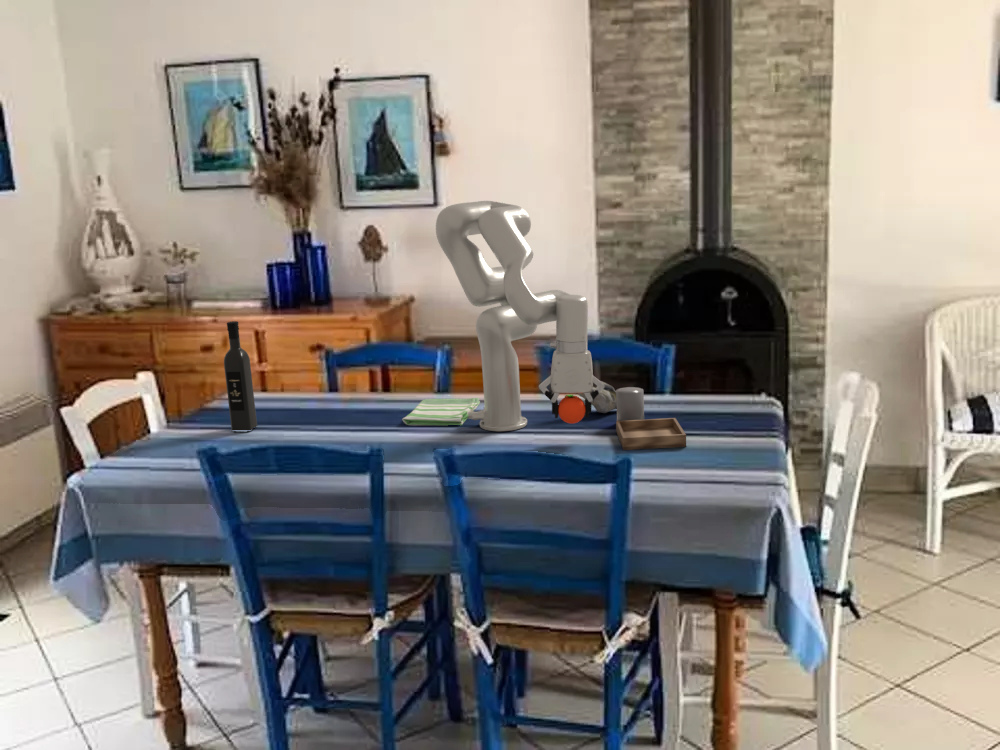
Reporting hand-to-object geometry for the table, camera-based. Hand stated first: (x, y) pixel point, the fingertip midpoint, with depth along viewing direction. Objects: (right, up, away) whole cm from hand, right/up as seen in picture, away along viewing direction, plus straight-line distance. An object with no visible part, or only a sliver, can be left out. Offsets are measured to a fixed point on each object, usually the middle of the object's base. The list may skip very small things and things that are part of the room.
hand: (571, 415), depth 253 cm
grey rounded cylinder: (+16, -3, +13) cm, 21 cm away
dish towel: (-34, -2, +33) cm, 47 cm away
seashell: (+9, 0, +27) cm, 28 cm away
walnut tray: (+19, -6, -1) cm, 20 cm away
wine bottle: (-88, -5, +28) cm, 92 cm away
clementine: (0, -2, +1) cm, 2 cm away
